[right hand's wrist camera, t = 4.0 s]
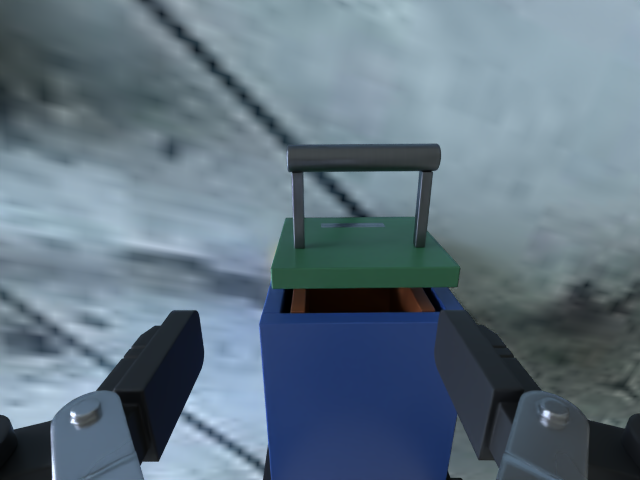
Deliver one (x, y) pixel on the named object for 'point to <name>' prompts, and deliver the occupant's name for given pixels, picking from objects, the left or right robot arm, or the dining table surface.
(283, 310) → the cabinet
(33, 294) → the dining table surface
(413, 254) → the drawer
